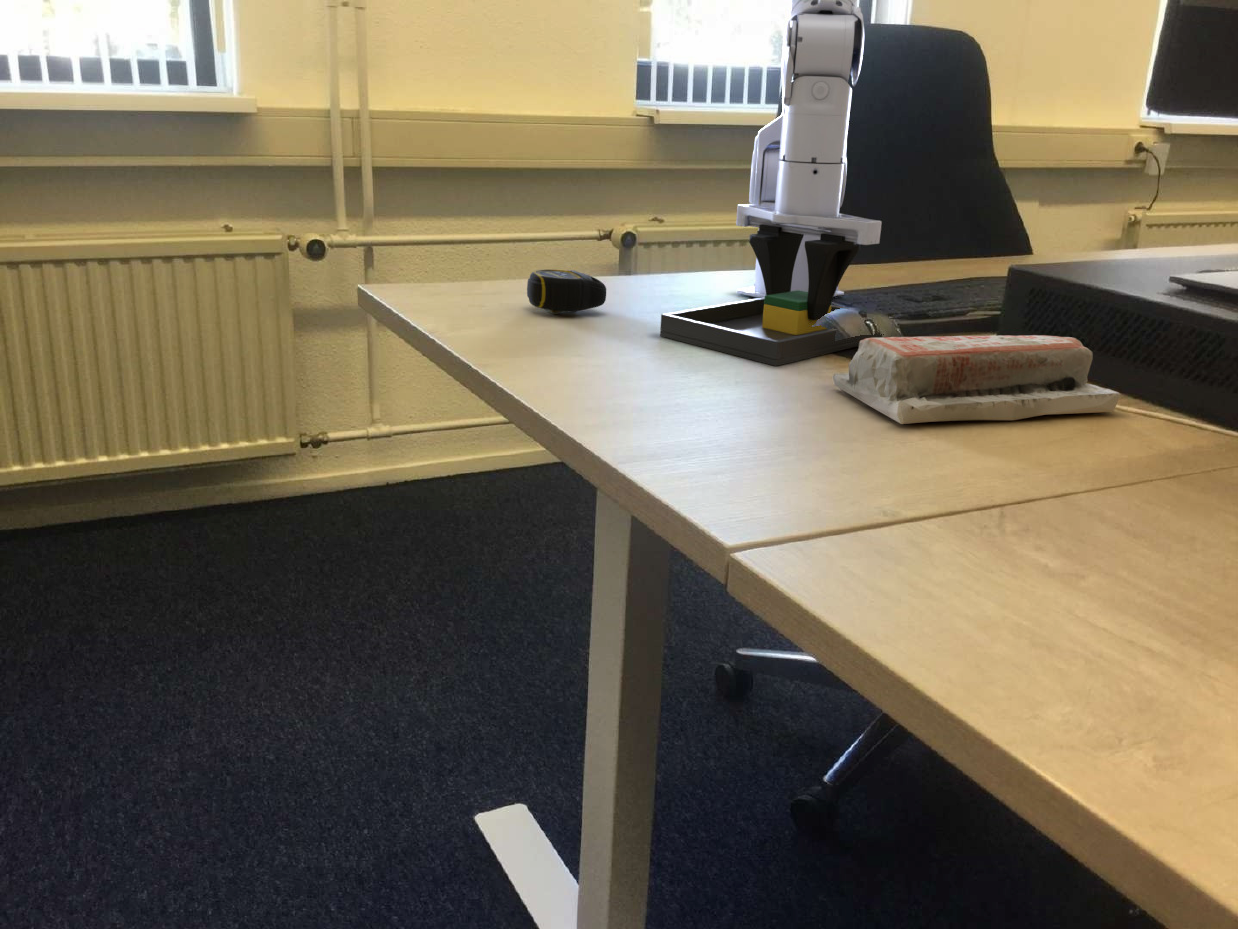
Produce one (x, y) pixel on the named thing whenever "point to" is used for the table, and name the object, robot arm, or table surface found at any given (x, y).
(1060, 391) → the packaged product
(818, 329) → the sponge
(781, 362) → the tray
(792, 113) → the robot arm
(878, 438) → the table surface
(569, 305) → the tape measure
